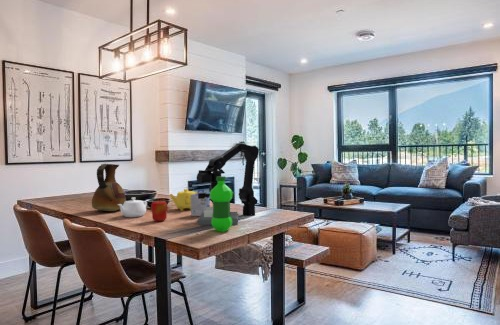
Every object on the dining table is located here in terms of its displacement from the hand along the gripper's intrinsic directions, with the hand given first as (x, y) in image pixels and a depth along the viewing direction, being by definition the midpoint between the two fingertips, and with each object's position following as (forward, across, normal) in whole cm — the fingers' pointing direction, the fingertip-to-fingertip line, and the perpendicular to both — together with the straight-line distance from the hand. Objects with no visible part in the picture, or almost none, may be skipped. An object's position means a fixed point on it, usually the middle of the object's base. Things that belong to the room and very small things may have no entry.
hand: (216, 211), depth 188 cm
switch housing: (+5, -2, +4) cm, 7 cm away
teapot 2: (+5, +22, -35) cm, 41 cm away
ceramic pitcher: (+5, +70, -34) cm, 78 cm away
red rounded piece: (+5, +30, 0) cm, 31 cm away
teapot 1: (+5, +49, -15) cm, 52 cm away
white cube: (+2, +3, 0) cm, 4 cm away
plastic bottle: (+5, -4, +24) cm, 25 cm away
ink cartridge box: (+5, +10, -14) cm, 18 cm away
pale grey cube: (+2, +3, +9) cm, 10 cm away
